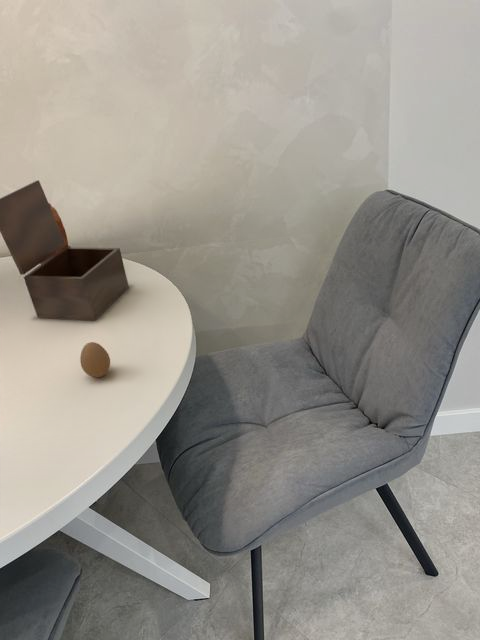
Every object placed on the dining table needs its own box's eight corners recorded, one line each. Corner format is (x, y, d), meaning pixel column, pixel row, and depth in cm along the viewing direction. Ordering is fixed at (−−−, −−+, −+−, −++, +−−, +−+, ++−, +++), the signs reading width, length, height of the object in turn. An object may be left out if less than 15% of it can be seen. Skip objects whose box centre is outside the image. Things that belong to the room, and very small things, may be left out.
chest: (129, 287, 115) (119, 247, 110) (94, 321, 103) (82, 278, 99) (76, 285, 118) (65, 247, 114) (37, 318, 107) (23, 276, 102)
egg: (85, 371, 89) (75, 339, 86) (113, 364, 90) (104, 333, 86) (85, 386, 85) (75, 353, 82) (114, 379, 86) (105, 347, 83)
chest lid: (39, 180, 107) (35, 180, 107) (-10, 203, 95) (-14, 204, 95) (66, 244, 113) (63, 245, 114) (24, 274, 102) (20, 274, 102)
